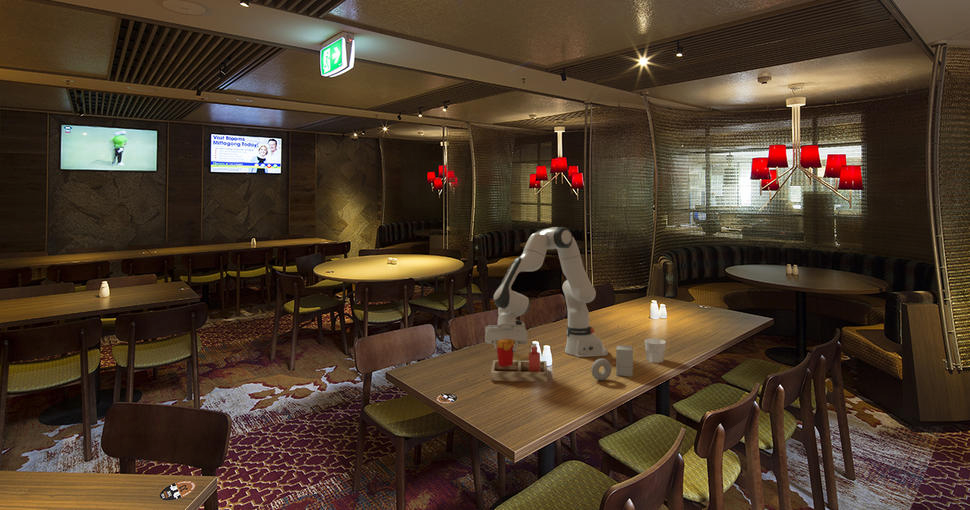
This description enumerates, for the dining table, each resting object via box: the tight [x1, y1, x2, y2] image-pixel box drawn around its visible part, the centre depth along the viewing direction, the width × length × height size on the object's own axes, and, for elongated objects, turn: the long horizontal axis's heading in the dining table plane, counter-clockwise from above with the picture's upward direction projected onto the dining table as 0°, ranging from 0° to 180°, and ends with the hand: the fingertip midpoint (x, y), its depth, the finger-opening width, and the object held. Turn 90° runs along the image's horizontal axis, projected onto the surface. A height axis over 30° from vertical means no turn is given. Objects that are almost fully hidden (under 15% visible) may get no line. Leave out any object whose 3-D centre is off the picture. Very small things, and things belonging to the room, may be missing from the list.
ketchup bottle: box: [528, 343, 541, 372], centre depth 218 cm, size 5×5×15 cm
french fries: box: [496, 339, 515, 367], centre depth 221 cm, size 8×4×12 cm, turn 113°
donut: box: [590, 358, 612, 381], centre depth 213 cm, size 10×3×10 cm, turn 109°
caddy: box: [490, 359, 549, 383], centre depth 221 cm, size 26×16×4 cm, turn 85°
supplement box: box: [615, 344, 634, 378], centre depth 221 cm, size 7×7×13 cm
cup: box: [644, 337, 667, 364], centre depth 239 cm, size 10×10×10 cm
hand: (505, 351), depth 220 cm, fingers closed on french fries, 6 cm apart
